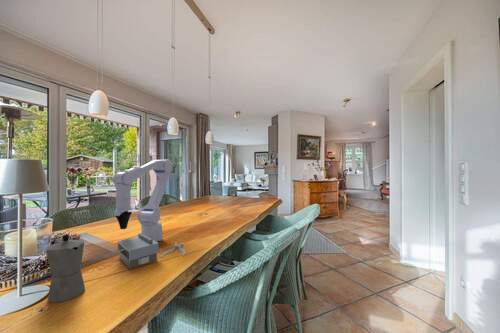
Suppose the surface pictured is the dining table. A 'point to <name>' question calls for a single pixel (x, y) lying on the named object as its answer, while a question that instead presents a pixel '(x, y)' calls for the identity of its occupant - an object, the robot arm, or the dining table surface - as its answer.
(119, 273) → the dining table surface
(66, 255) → the coffeepot
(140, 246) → the lid
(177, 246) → the hammer
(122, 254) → the housing
